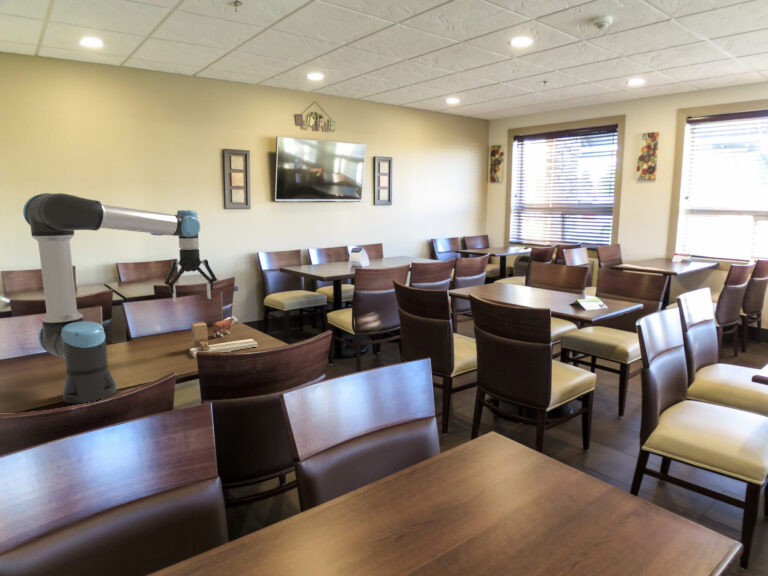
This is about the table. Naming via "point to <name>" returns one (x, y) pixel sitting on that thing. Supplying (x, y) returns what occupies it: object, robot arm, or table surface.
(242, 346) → the board
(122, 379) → the table surface
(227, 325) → the bull figurine
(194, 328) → the tan boxy piece
